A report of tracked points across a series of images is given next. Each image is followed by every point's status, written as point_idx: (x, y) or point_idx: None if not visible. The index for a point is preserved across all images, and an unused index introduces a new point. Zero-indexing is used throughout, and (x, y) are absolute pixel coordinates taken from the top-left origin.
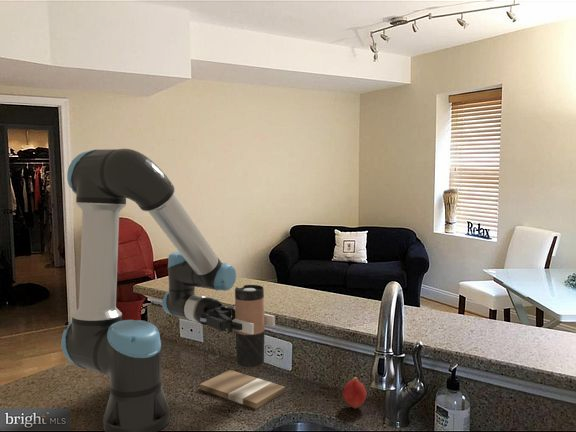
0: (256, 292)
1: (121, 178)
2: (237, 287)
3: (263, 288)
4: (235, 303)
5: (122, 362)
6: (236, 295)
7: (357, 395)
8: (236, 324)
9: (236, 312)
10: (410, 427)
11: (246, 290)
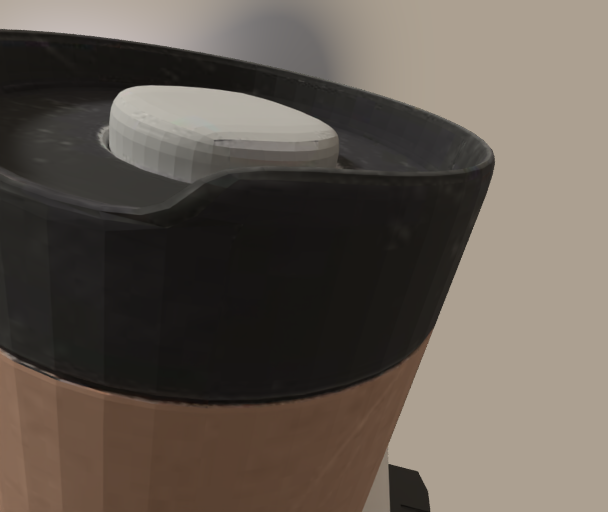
0: (326, 102)
1: None
2: (209, 182)
3: (150, 55)
4: (380, 436)
5: None
6: (455, 271)
7: None
8: (426, 507)
9: (365, 499)
10: None
11: (328, 126)
